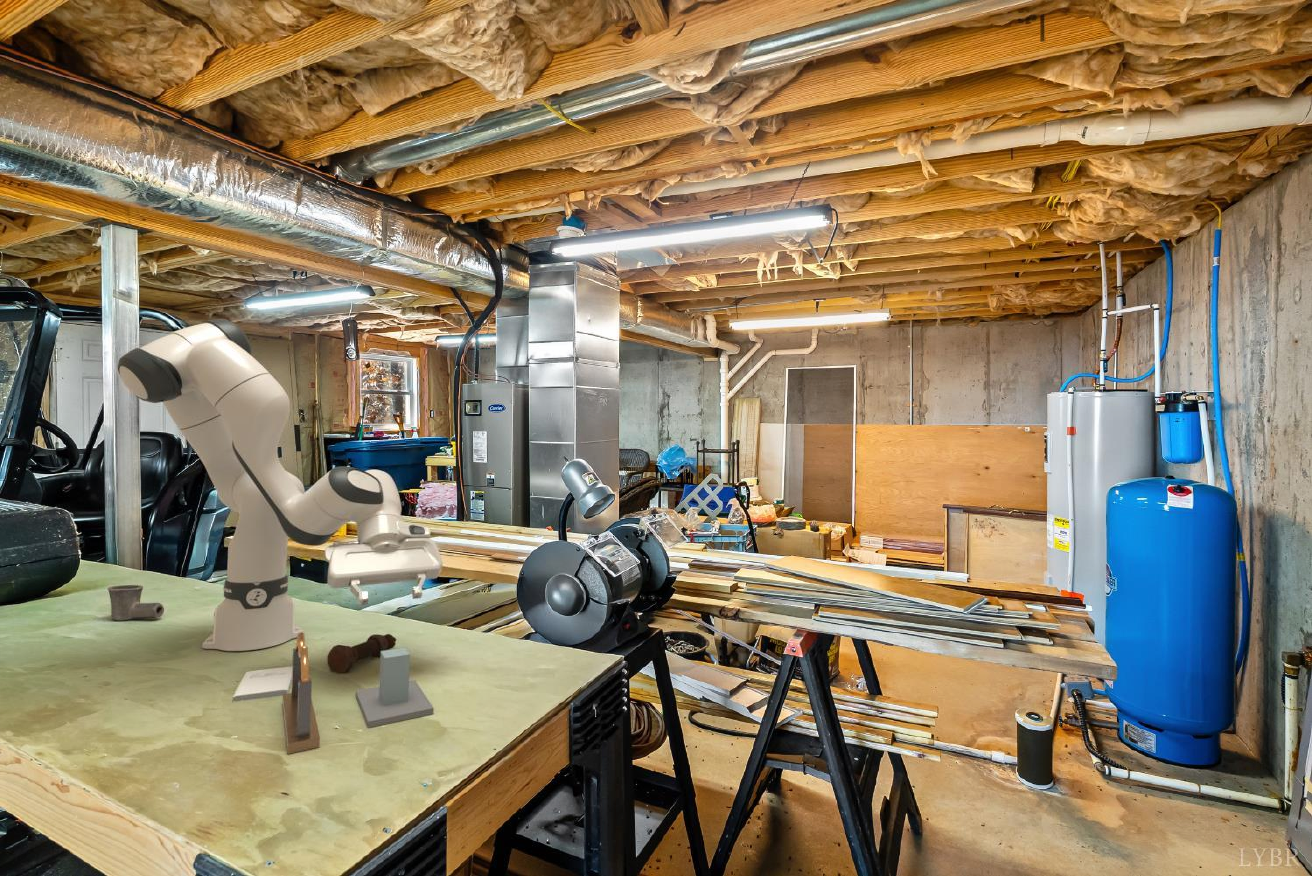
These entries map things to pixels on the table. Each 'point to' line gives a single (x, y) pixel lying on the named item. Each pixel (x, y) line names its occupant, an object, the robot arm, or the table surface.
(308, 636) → the table surface
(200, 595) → the table surface
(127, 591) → the pipe
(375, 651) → the bolt
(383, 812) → the table surface
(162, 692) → the table surface
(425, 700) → the pad
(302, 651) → the wire frame
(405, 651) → the block
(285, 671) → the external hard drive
